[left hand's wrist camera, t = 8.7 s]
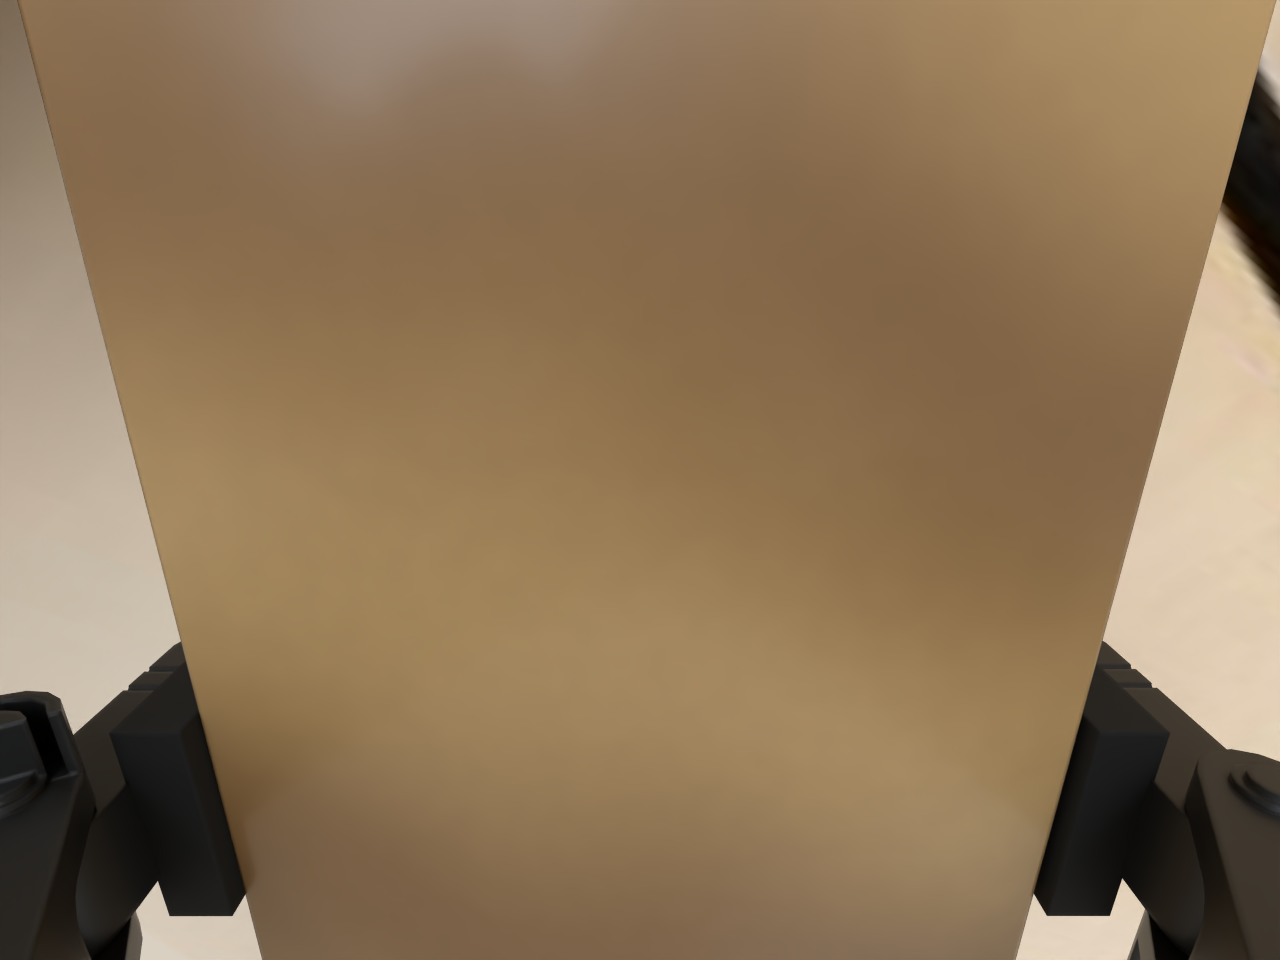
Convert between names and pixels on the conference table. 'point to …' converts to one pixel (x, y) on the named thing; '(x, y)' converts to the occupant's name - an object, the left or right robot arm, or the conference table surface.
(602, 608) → the beam
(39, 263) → the conference table surface
